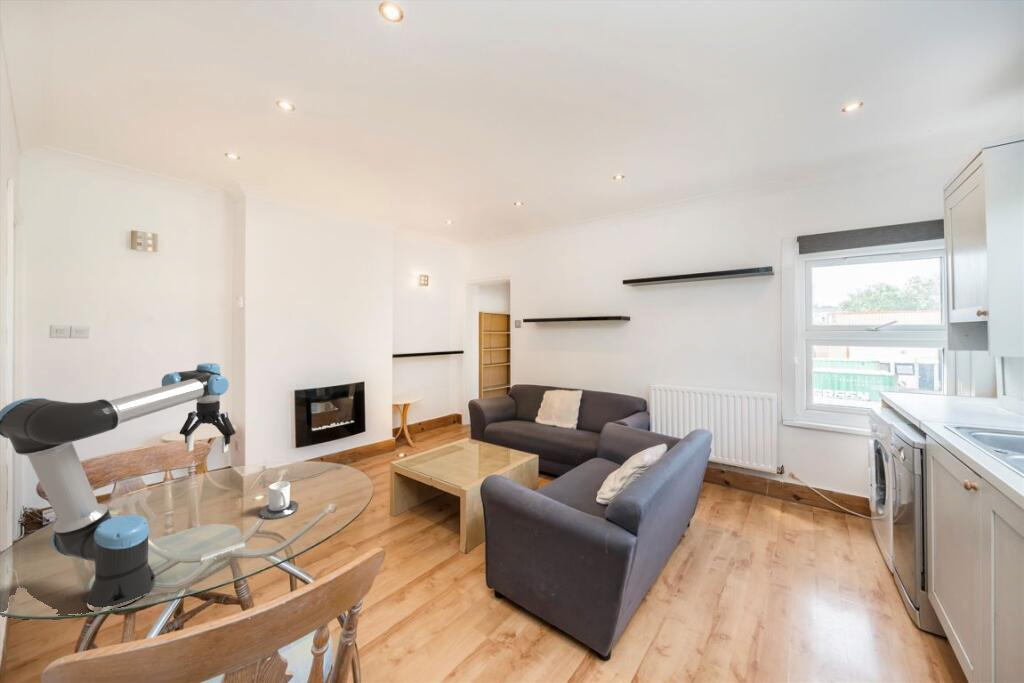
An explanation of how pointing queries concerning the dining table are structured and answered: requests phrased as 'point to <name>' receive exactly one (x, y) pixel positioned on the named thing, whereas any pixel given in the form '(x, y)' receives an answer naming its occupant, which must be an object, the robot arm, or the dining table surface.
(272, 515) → the metal plate
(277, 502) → the mug
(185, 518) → the dining table surface
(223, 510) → the dining table surface
